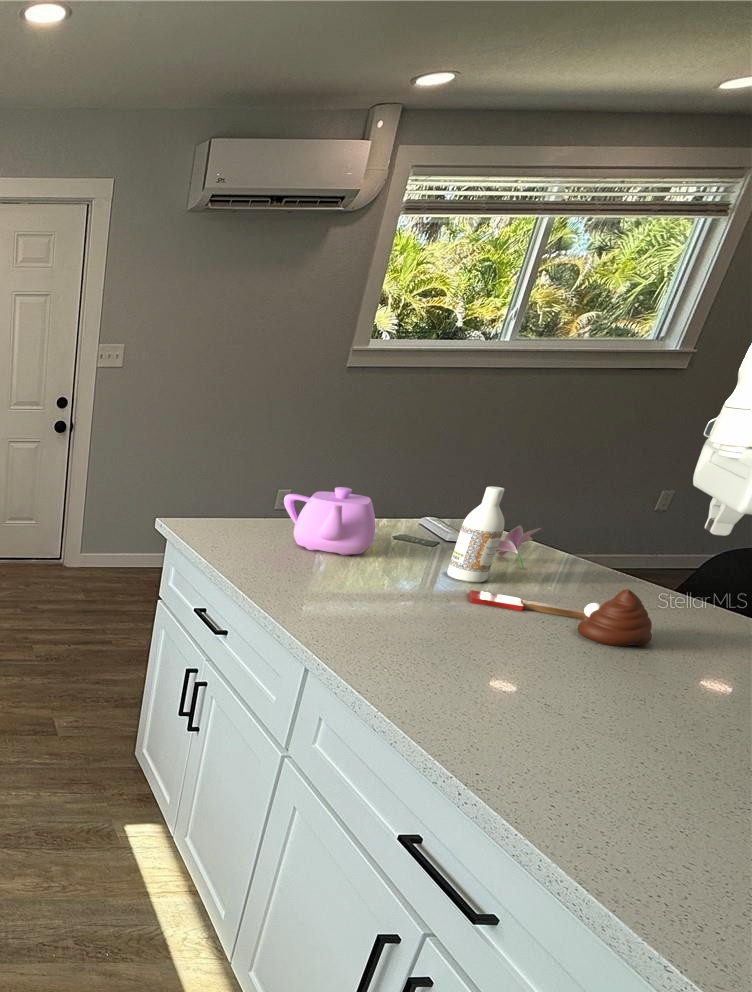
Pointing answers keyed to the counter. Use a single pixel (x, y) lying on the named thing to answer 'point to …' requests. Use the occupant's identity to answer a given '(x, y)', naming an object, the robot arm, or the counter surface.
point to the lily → (514, 541)
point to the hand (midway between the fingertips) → (715, 532)
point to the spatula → (522, 604)
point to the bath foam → (478, 539)
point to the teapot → (333, 521)
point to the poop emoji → (617, 621)
